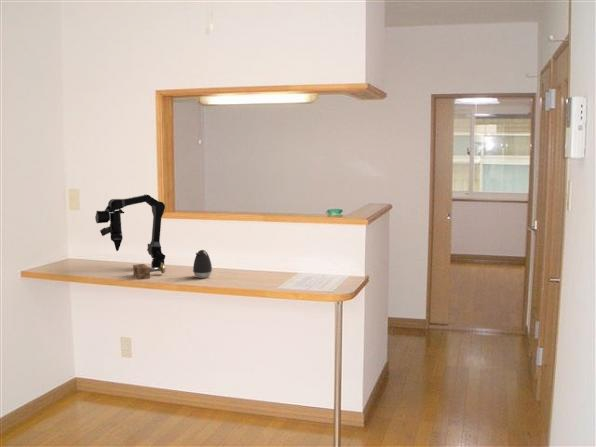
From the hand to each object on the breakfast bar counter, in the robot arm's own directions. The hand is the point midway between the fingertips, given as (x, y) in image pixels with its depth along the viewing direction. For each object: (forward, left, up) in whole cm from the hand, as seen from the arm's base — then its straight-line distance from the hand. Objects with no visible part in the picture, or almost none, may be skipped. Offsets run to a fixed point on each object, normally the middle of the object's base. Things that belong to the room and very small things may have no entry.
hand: (117, 249), depth 342 cm
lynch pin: (-17, +15, -13) cm, 26 cm away
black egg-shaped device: (-39, +32, -14) cm, 52 cm away
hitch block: (-10, +15, -14) cm, 22 cm away
